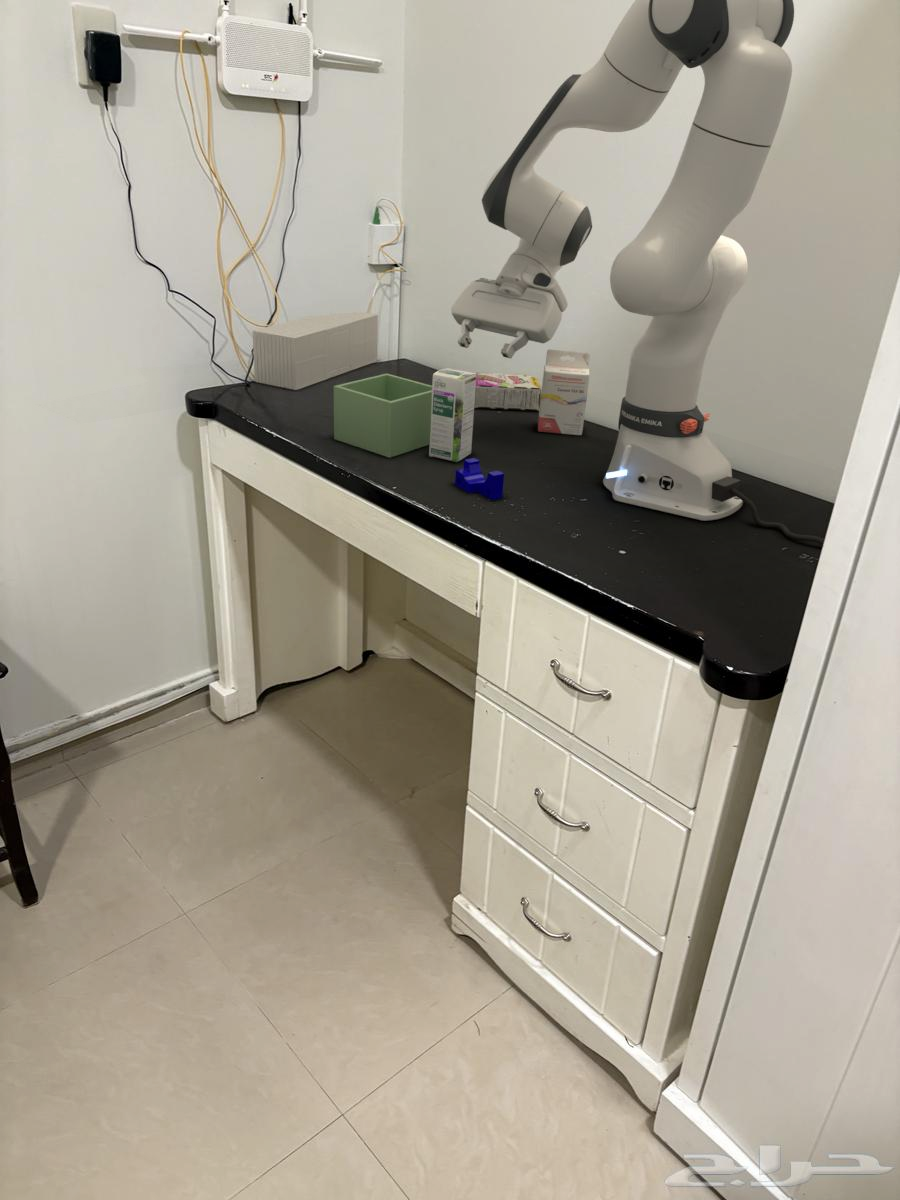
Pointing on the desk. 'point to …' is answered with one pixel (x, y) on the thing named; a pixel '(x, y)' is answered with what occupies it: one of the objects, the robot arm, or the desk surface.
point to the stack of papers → (314, 348)
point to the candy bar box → (507, 392)
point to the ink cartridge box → (564, 392)
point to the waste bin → (383, 414)
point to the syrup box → (452, 414)
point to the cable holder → (479, 480)
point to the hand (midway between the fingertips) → (483, 350)
